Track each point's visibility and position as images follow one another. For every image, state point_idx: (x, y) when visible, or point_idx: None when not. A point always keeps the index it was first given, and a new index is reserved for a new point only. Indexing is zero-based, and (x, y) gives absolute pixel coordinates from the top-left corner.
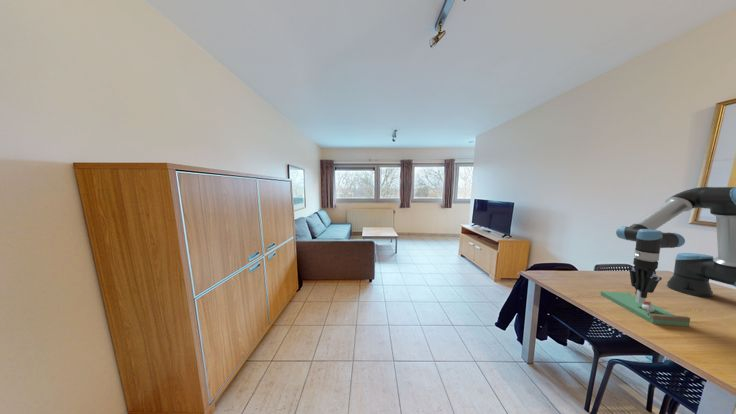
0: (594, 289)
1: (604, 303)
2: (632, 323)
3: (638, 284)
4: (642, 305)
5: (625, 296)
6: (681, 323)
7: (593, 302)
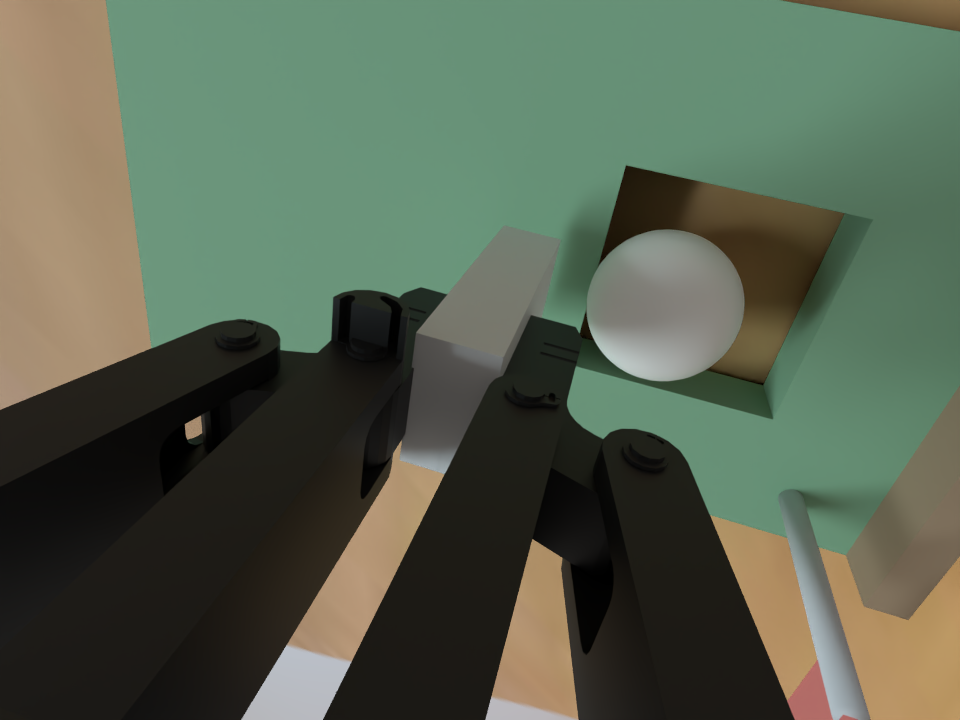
0: (38, 231)
1: (403, 504)
2: (784, 674)
3: (326, 569)
4: (614, 363)
5: (259, 147)
6: None
7: (387, 579)
